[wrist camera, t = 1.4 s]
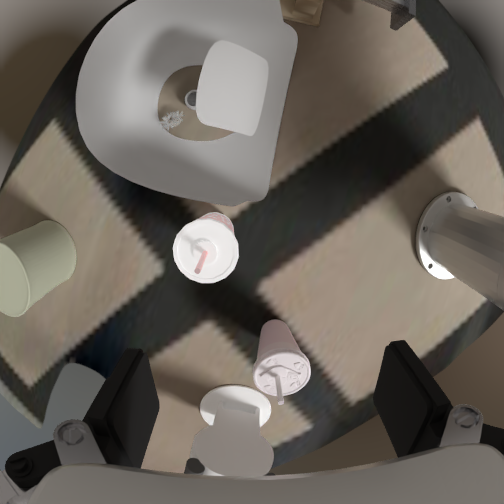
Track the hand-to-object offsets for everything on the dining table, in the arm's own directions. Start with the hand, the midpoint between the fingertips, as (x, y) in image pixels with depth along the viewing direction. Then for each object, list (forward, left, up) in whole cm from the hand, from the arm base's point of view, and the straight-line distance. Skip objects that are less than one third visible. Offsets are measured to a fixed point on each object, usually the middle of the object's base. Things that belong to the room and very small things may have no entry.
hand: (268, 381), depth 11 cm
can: (+27, +8, -27) cm, 39 cm away
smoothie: (-6, +13, -27) cm, 31 cm away
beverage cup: (+4, +1, -27) cm, 27 cm away
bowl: (+9, -14, -27) cm, 32 cm away
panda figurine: (-3, +29, -27) cm, 40 cm away
